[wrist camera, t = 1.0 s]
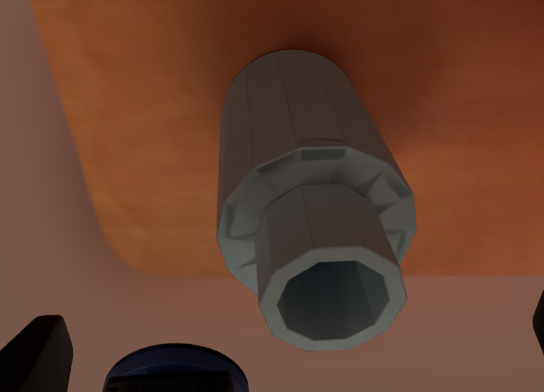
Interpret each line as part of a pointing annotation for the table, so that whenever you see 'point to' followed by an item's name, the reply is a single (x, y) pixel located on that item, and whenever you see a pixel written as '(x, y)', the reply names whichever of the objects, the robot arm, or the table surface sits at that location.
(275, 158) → the bottle
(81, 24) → the table surface
